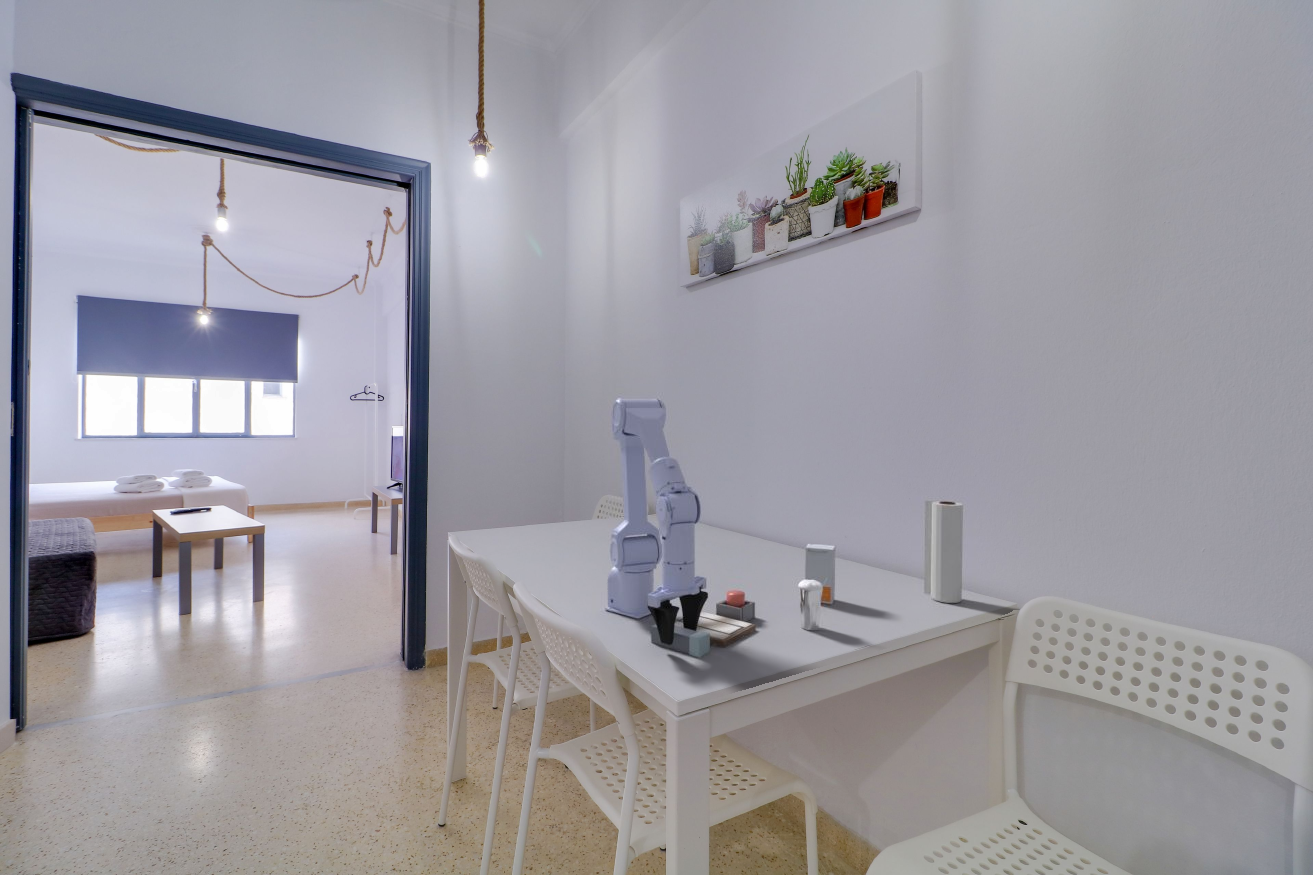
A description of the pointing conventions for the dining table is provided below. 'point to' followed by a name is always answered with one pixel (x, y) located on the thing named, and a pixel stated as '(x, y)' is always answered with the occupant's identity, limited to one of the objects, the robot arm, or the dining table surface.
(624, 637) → the dining table surface
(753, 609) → the button housing
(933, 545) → the paper towel roll
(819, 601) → the milkshake
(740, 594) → the button
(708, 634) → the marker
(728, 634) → the brown flat wooden board
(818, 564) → the skincare box
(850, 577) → the dining table surface
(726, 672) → the dining table surface
